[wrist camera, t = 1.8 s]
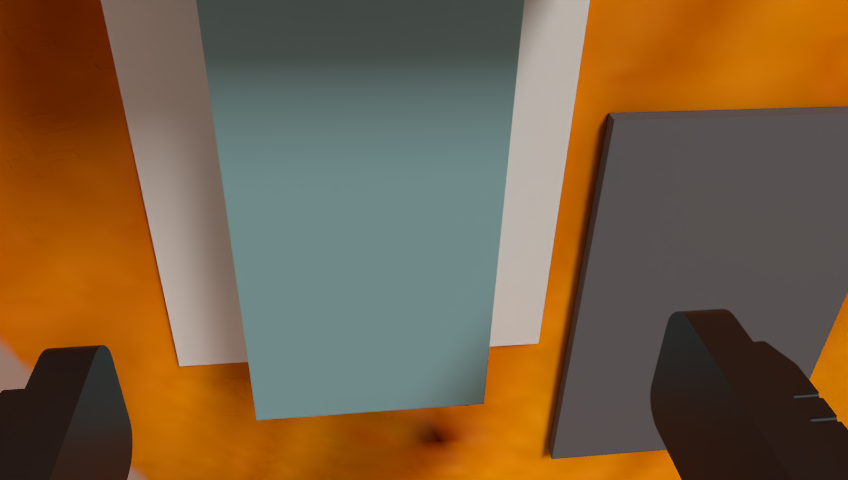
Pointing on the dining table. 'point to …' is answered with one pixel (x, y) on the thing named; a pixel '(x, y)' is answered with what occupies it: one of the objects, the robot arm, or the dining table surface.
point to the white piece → (203, 190)
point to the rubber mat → (701, 254)
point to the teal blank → (363, 193)
